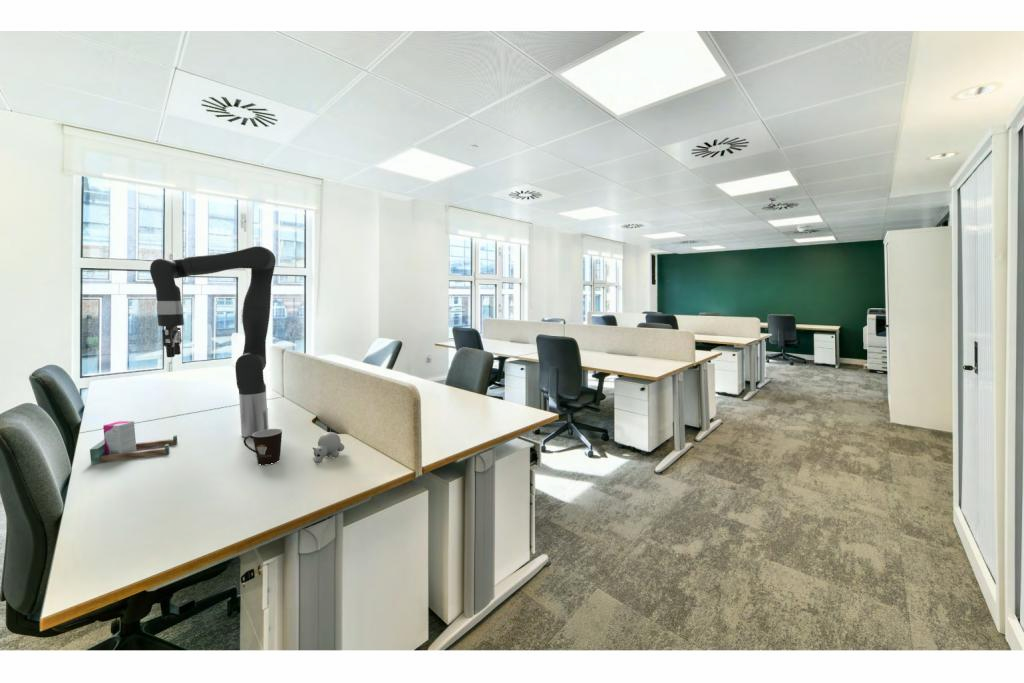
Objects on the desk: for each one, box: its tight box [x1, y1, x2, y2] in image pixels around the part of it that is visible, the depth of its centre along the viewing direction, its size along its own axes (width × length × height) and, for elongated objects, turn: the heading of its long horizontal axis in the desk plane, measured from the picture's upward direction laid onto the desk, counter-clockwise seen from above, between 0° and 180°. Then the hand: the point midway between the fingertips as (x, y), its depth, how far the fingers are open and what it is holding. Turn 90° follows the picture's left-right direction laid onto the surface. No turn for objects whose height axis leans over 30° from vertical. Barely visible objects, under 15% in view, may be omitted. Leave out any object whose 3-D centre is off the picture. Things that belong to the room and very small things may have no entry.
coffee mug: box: [243, 428, 283, 466], centre depth 138 cm, size 12×9×10 cm
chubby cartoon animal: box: [312, 431, 346, 464], centre depth 140 cm, size 7×12×8 cm, turn 162°
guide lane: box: [89, 434, 178, 465], centre depth 144 cm, size 20×12×5 cm, turn 117°
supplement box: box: [102, 420, 137, 455], centre depth 142 cm, size 6×6×12 cm
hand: (174, 355), depth 155 cm, fingers open, 8 cm apart
